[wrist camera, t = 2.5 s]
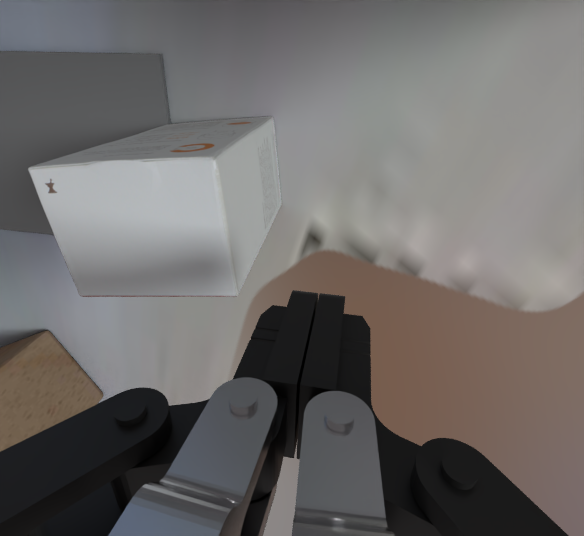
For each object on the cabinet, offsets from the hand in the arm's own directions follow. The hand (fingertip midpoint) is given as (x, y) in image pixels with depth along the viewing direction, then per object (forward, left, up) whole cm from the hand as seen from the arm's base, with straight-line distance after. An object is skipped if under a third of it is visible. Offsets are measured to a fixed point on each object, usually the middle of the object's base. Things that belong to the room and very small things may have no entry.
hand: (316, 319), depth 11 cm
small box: (+9, 0, -17) cm, 19 cm away
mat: (+22, 0, -17) cm, 28 cm away
